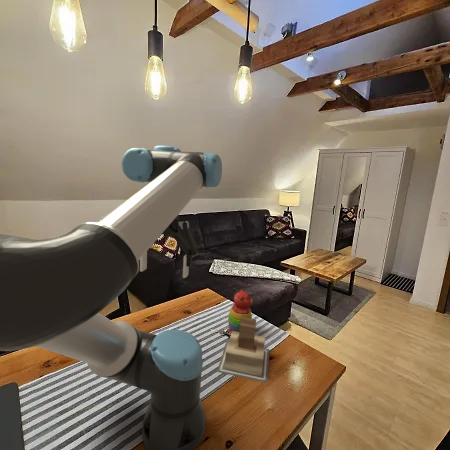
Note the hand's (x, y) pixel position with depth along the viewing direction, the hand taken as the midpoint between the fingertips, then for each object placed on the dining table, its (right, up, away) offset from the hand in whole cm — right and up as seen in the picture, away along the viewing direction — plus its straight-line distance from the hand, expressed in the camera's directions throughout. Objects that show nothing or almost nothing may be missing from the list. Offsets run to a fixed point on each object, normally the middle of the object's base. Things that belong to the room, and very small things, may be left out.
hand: (164, 273), depth 77 cm
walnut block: (+26, -26, +9) cm, 37 cm away
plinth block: (+25, -32, +11) cm, 42 cm away
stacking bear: (+24, -29, +26) cm, 46 cm away
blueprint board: (+25, -32, +11) cm, 42 cm away
